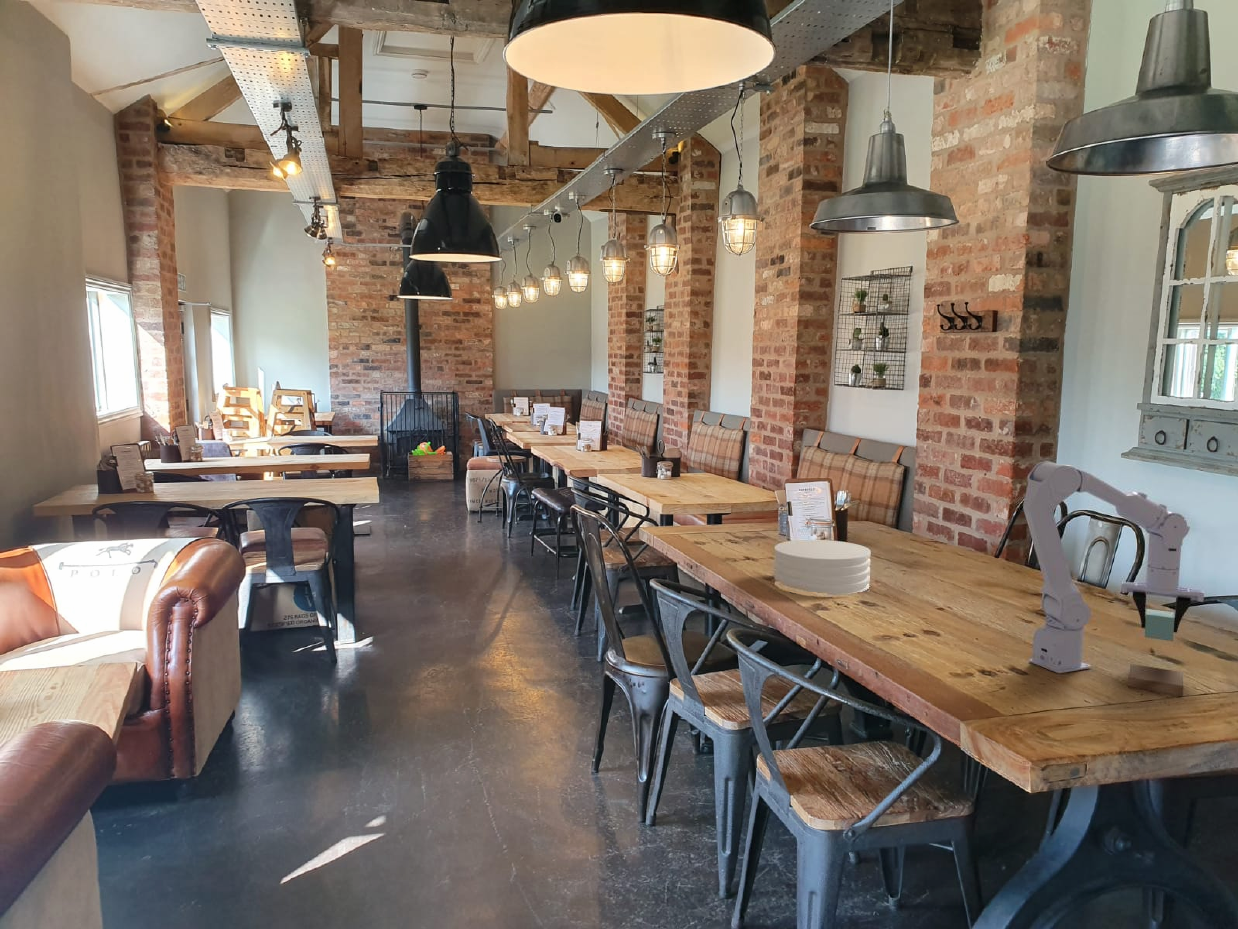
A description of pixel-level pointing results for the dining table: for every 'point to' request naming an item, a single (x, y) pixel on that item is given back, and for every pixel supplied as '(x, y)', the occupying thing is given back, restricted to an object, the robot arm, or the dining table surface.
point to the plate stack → (823, 566)
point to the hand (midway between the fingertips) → (1159, 629)
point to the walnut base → (1156, 679)
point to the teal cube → (1159, 624)
